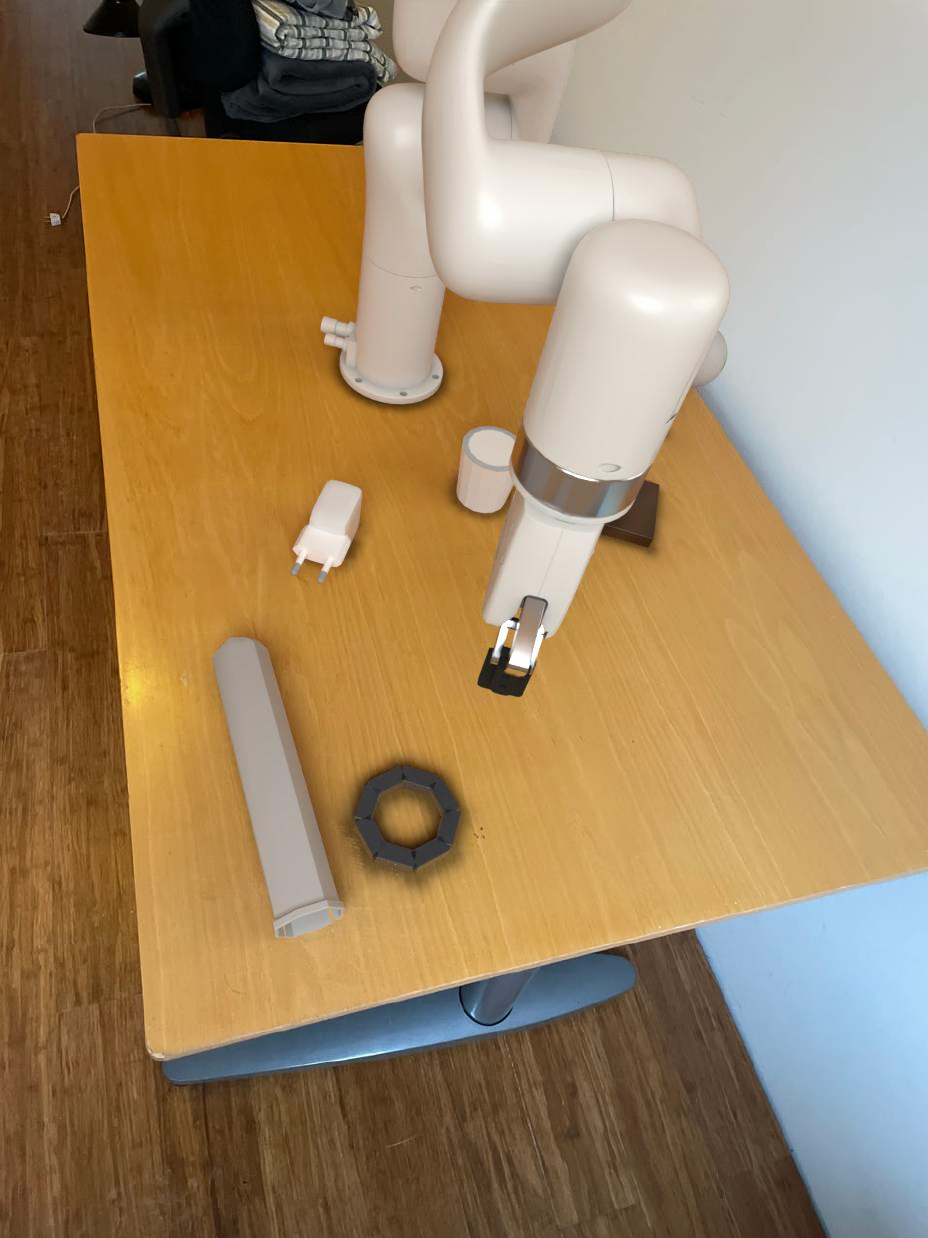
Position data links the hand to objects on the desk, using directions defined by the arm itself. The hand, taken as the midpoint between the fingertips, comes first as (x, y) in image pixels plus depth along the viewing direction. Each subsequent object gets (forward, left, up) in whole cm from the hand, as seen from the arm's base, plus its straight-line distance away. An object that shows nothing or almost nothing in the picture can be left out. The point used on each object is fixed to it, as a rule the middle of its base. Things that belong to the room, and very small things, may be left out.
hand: (511, 633), depth 59 cm
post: (+10, +34, -17) cm, 39 cm away
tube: (-15, -9, -17) cm, 24 cm away
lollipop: (+14, +50, -17) cm, 55 cm away
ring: (-3, -9, -17) cm, 19 cm away
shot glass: (-5, +30, -17) cm, 35 cm away
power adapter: (-18, +15, -17) cm, 29 cm away
